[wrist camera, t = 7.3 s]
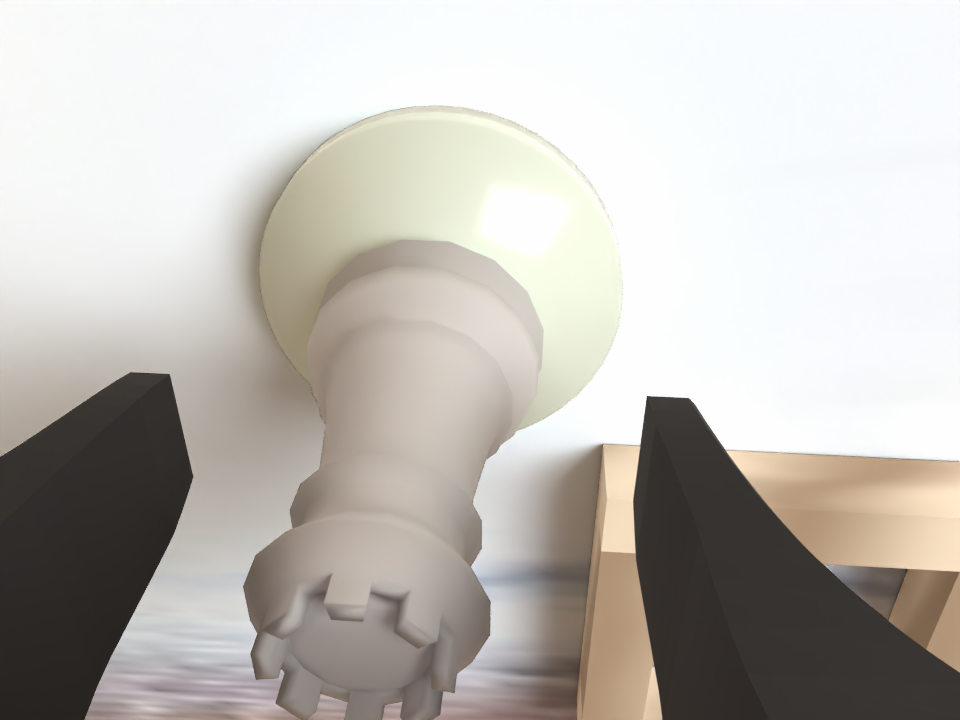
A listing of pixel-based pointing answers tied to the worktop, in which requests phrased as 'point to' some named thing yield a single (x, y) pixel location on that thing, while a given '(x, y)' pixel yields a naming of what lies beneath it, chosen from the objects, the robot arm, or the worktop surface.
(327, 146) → the coaster
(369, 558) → the rook chess piece
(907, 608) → the pocket block
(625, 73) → the worktop surface
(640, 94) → the worktop surface
